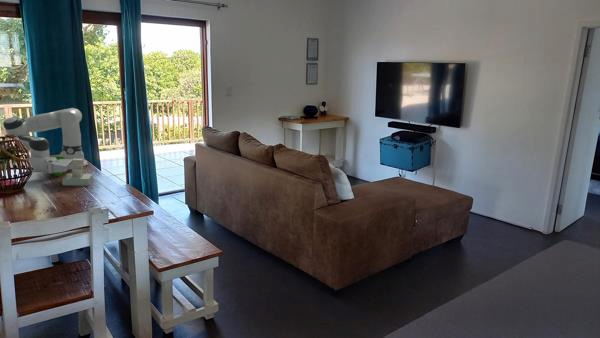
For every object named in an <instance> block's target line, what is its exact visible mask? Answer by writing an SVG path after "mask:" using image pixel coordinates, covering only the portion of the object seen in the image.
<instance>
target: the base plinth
mask: <svg viewBox="0 0 600 338" xmlns="http://www.w3.org/2000/svg"><path fill="white" fill-rule="evenodd" d="M93 176H94V175H93V173H83V176H82V177H72V173H66V174H65V175H64V176H63V177H62V178H61V179H62V180H61V183H62V186H84V187H85V186H90V184H91V183H92V182H93V179H94V177H93Z"/></svg>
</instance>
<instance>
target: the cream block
mask: <svg viewBox="0 0 600 338" xmlns="http://www.w3.org/2000/svg"><path fill="white" fill-rule="evenodd" d="M74 165H77V169H71V174H72V177H82V176H83V174H84V166H83V159H73V160H72V166H74Z"/></svg>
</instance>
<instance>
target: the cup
mask: <svg viewBox="0 0 600 338" xmlns="http://www.w3.org/2000/svg"><path fill="white" fill-rule="evenodd" d="M52 157H55V158H56V159H57V160H60V159H65V157H62V156H60V155H59V156H57V155H56V156H54V155H53V156H52ZM63 173H64V172H56V173H52V175H53V176H54V177H56V176H57V177H60V176H62V175H63Z"/></svg>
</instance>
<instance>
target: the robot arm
mask: <svg viewBox="0 0 600 338" xmlns="http://www.w3.org/2000/svg"><path fill="white" fill-rule="evenodd" d="M82 118H83V113H82V112H81V111H80V110H79V109H78V108H75V107H70V108H64V109H59V110H55V111H51V112H46V113H40V114H35V115H31V116H28V117H26V118H21V117H19V116H18V117H17V116H12V117H8V118H5V120H4V121H3V123H2V125H3V129H5V131H6V134H7V135H15V136H17V137H18V138H19V139H20V140H21V142H22V143H23V145H24V146H25V147H26V148H27V150H28V153H29V152H30V156H28V157H29V161H30V164H31V166H32V167H33V169H34V171H33V172H32V173H41V172H43V173H47V174H53V173H56V172H63V173H66V172H67V171H68V170H72V169H77V165H74V166H72V160H73V159H83V167H85V166H86V165H87V166H88V160H86V158H85V154H84V152H83V147H82V133H81V128H80V122H81V121H82ZM59 128H61V132H62V145H61V150H62V151H61V152H60V153H59V156H62V157H65V159H60V160H57V159H56V158H55V157H53V156H50V155H51V154H50V141H49V140H47V138H45V137H40V136H39V137H38V136H32V135H31V134H30V133H39V132H44V131H49V130H54V129H59ZM87 166H86V167H87Z"/></svg>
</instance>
